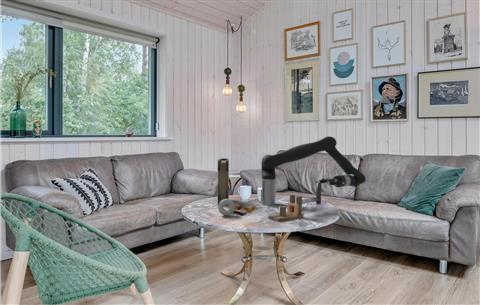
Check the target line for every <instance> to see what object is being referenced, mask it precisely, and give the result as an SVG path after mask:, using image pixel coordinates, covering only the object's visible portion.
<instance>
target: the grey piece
mask: <svg viewBox="0 0 480 305" xmlns="http://www.w3.org/2000/svg"><path fill="white" fill-rule="evenodd" d="M315 189H316V191H315V192H316V193H315V197H310V198H309V197H308V198H302V205H303V204H309V203H315V204H316V205H322V183H319V182H316V188H315Z"/></svg>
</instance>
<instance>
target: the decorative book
mask: <svg viewBox="0 0 480 305" xmlns="http://www.w3.org/2000/svg"><path fill="white" fill-rule="evenodd" d="M229 160H230V158H219V159H217V206H218V205H219V203H220V202H221V201H222V200H223V199H230V197H229V196H230V195H229V193H230V192H229V189H230V186H229V184H230V182H229V181H230V180H229V178H230V171H229V170H230V166H229V165H230V161H229ZM225 206H226V207H229V205H225Z"/></svg>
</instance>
